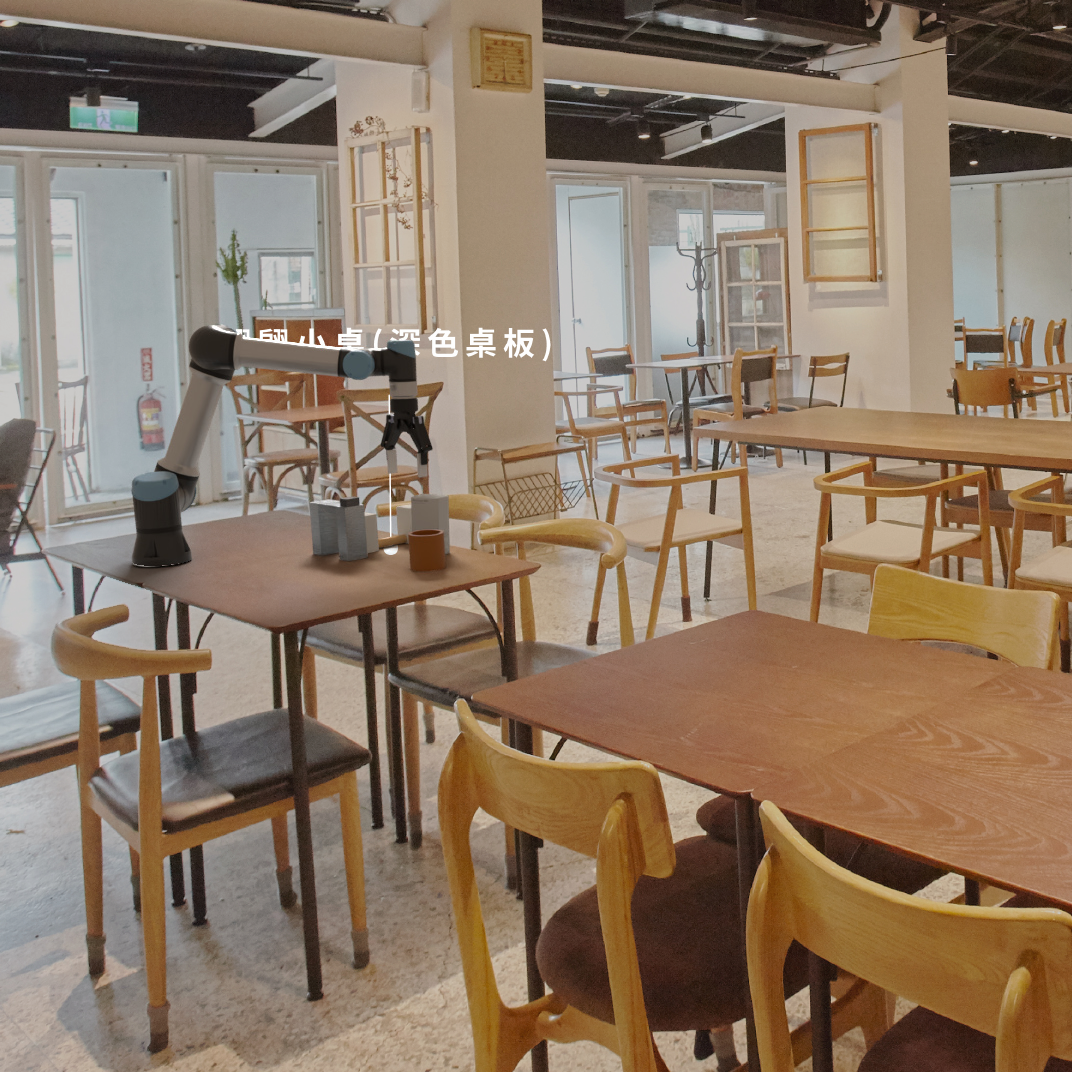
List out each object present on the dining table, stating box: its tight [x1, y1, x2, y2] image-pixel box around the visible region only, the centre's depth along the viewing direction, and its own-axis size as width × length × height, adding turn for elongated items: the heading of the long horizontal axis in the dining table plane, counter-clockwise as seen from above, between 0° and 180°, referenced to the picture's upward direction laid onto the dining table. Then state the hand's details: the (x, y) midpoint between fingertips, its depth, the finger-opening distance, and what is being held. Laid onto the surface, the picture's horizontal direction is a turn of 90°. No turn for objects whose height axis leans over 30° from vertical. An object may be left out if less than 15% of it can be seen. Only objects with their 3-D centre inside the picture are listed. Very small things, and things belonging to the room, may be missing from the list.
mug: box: [408, 529, 447, 572], centre depth 302 cm, size 9×12×9 cm
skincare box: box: [410, 493, 451, 556], centre depth 317 cm, size 8×7×16 cm
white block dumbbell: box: [364, 503, 412, 554], centre depth 331 cm, size 6×21×10 cm, turn 133°
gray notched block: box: [309, 496, 369, 562], centre depth 320 cm, size 16×6×16 cm, turn 43°
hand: (407, 475), depth 334 cm, fingers open, 13 cm apart
